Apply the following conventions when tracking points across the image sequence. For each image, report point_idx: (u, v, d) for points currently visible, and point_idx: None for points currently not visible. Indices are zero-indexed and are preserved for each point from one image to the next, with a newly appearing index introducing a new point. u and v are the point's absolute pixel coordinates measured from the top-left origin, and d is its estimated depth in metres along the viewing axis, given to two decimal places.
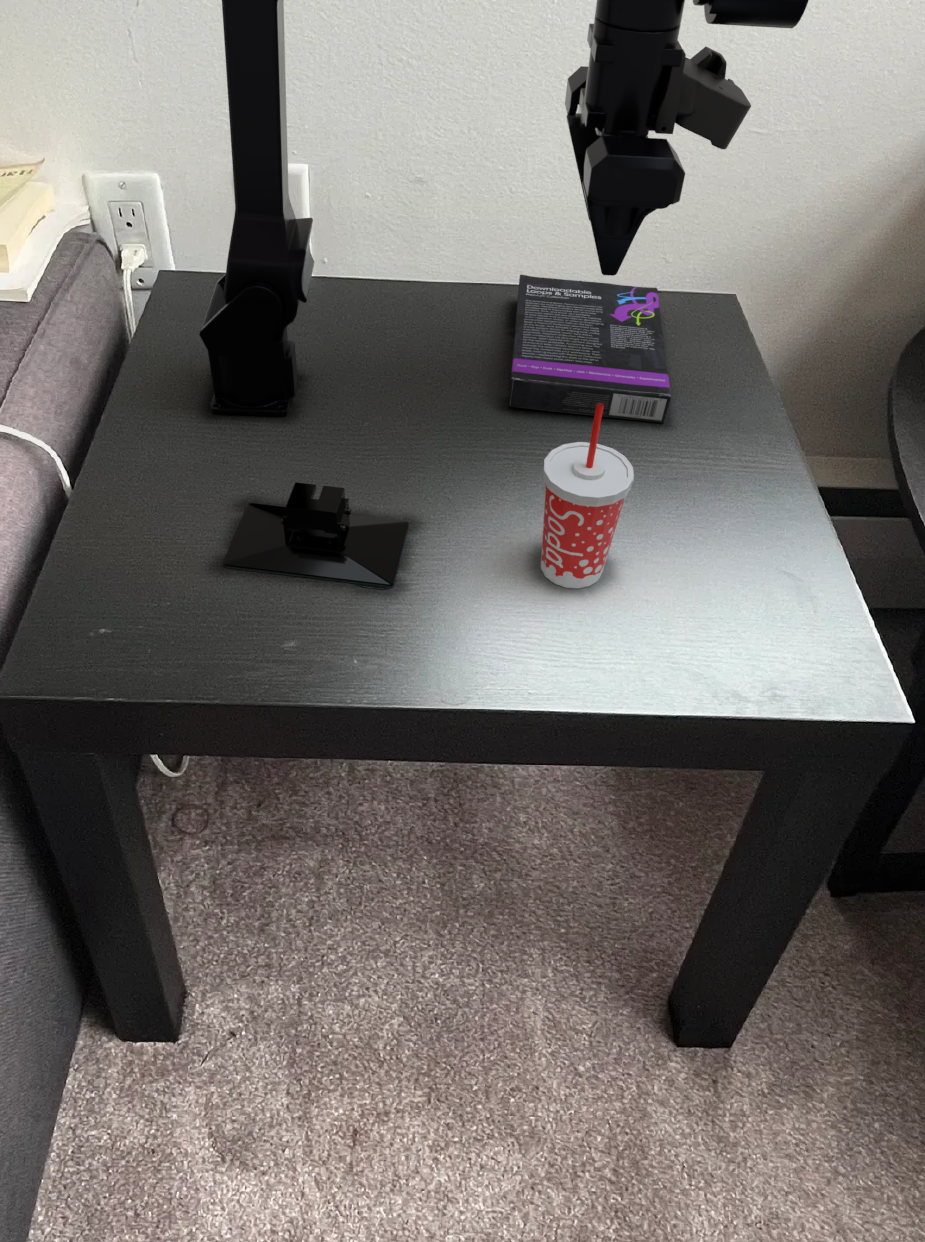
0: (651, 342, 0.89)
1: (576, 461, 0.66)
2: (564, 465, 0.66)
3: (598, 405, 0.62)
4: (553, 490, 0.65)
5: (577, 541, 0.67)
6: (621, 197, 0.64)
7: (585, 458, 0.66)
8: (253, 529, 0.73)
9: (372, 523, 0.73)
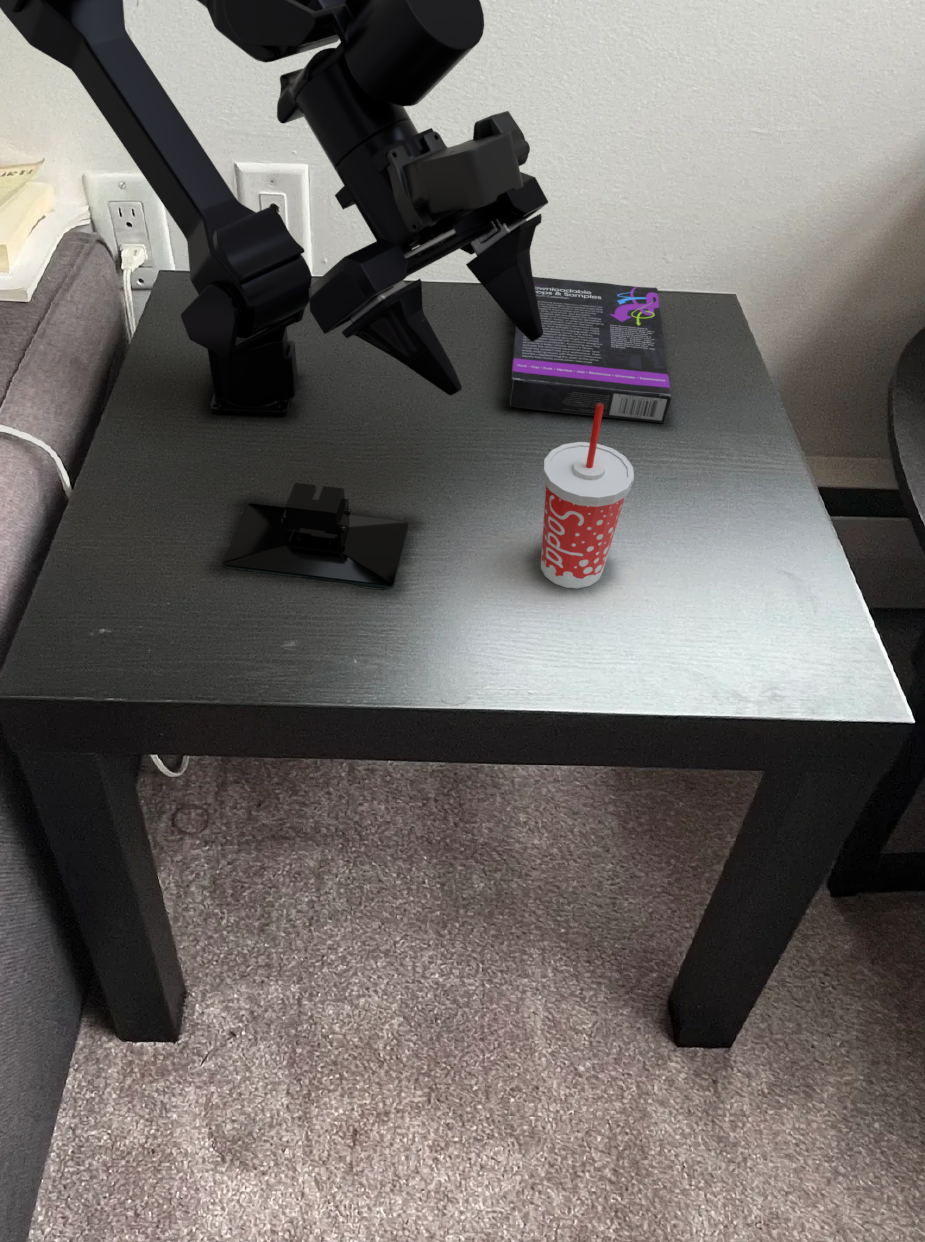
0: (651, 342, 0.89)
1: (576, 461, 0.66)
2: (564, 465, 0.66)
3: (598, 405, 0.62)
4: (553, 490, 0.65)
5: (577, 541, 0.67)
6: (334, 319, 0.59)
7: (585, 458, 0.66)
8: (253, 529, 0.73)
9: (371, 523, 0.73)
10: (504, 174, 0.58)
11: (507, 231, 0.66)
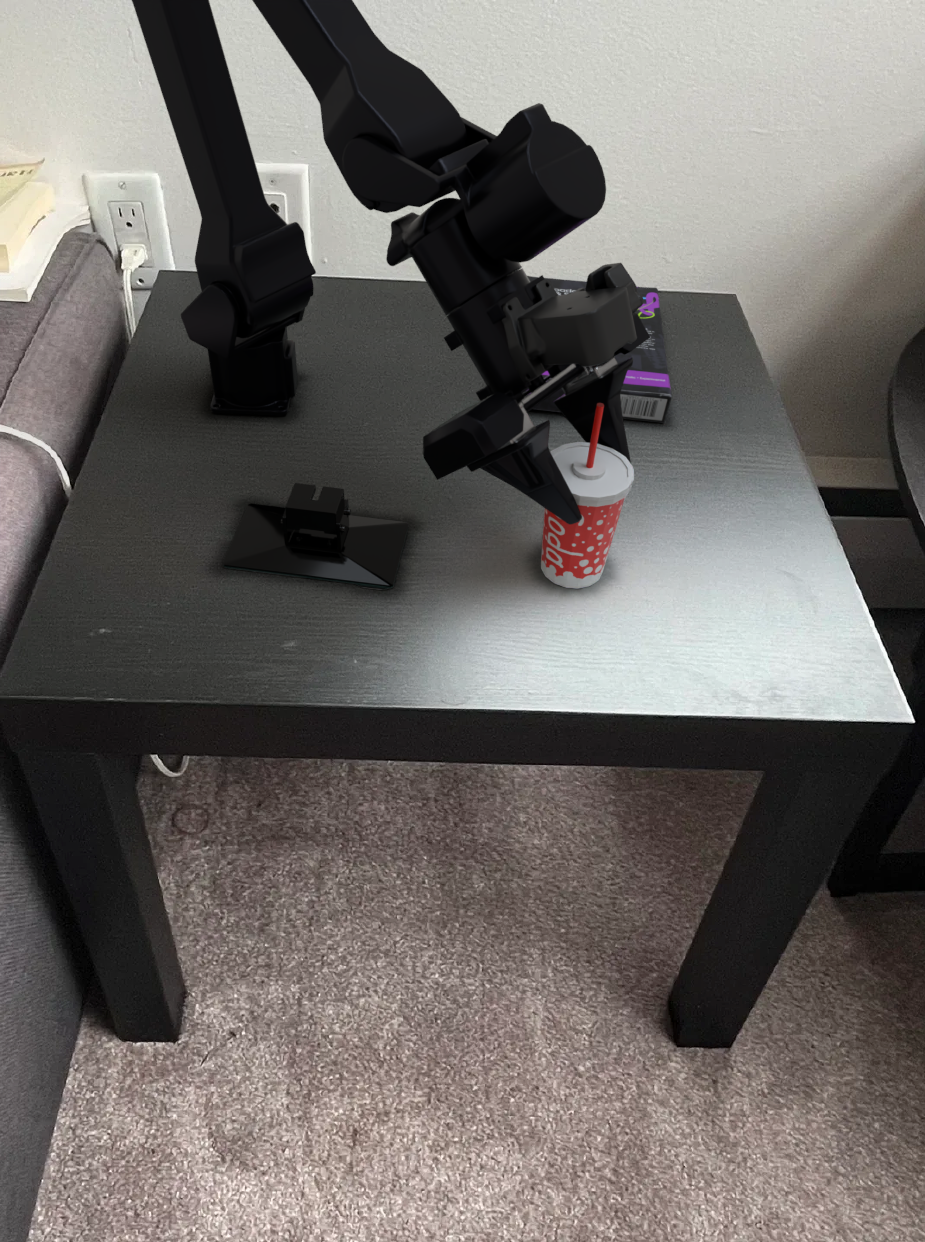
0: (652, 342, 0.89)
1: (576, 461, 0.66)
2: (564, 465, 0.66)
3: (599, 405, 0.62)
4: None
5: (577, 541, 0.67)
6: (449, 468, 0.60)
7: (585, 458, 0.66)
8: (253, 529, 0.72)
9: (371, 524, 0.73)
10: (621, 330, 0.58)
11: (599, 375, 0.66)
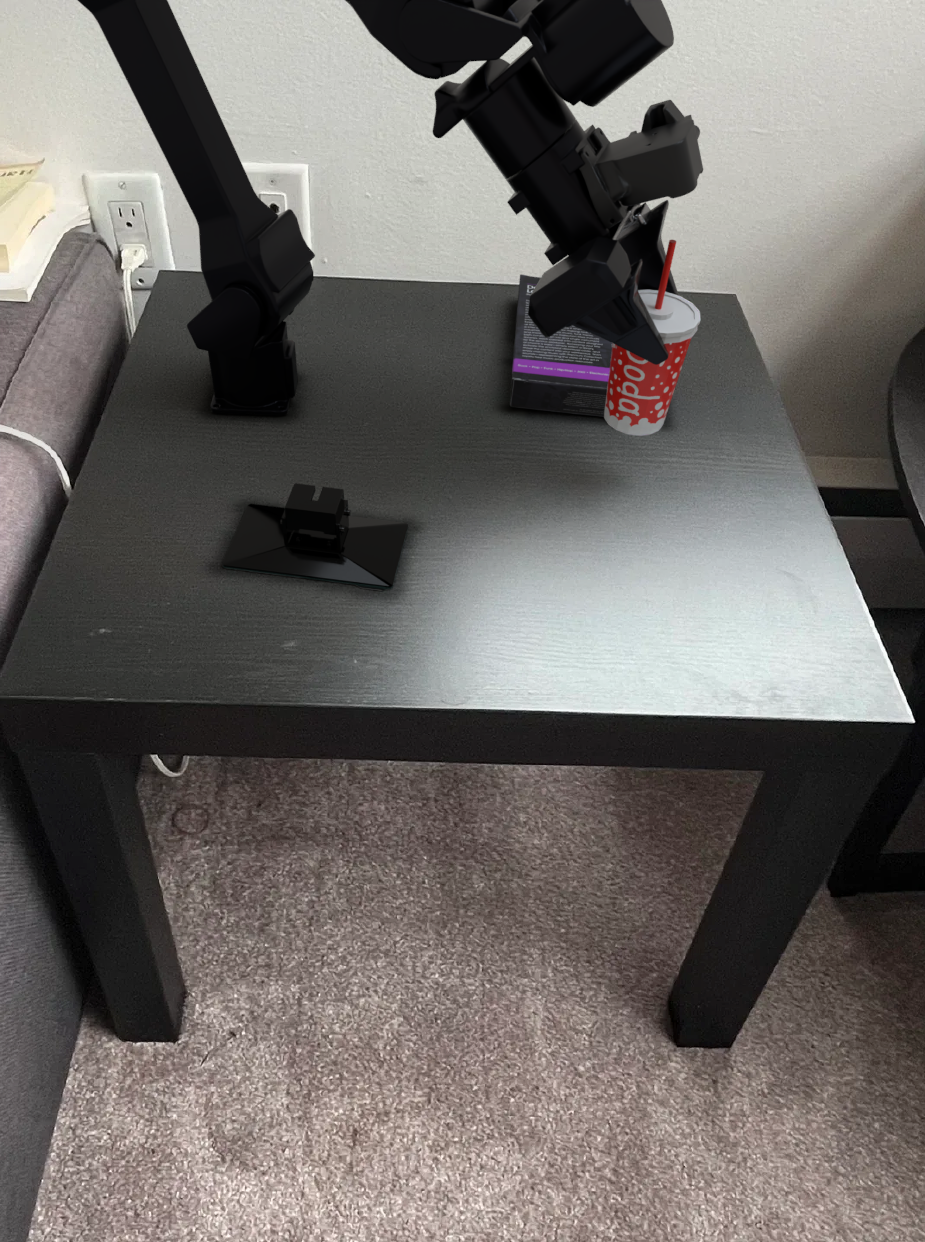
0: None
1: None
2: None
3: (672, 241, 0.65)
4: None
5: (656, 384, 0.70)
6: (565, 320, 0.61)
7: (650, 302, 0.69)
8: (252, 530, 0.72)
9: (371, 524, 0.73)
10: (697, 159, 0.61)
11: (643, 221, 0.69)
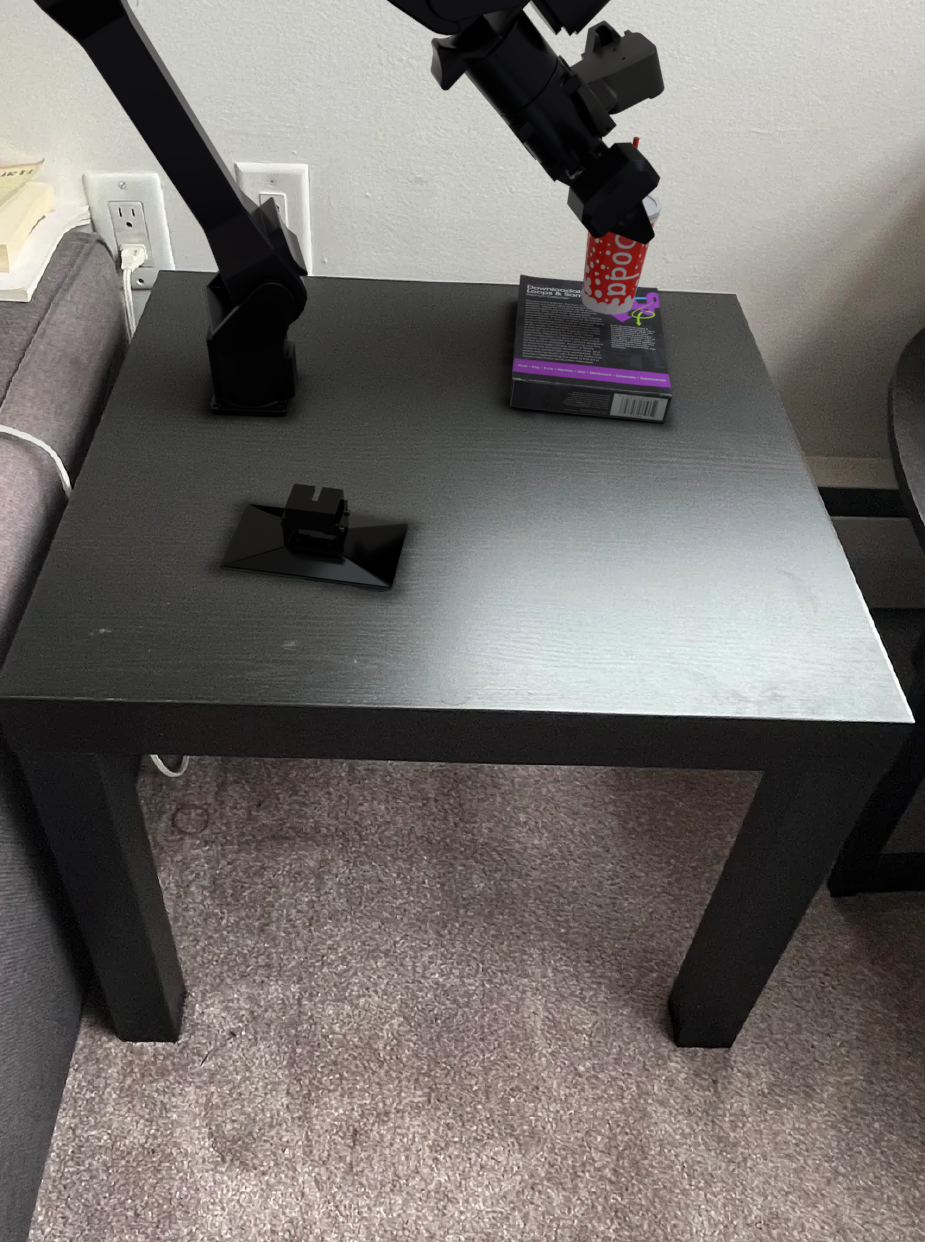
0: (652, 342, 0.89)
1: None
2: None
3: (636, 138, 0.78)
4: None
5: (638, 263, 0.83)
6: (617, 218, 0.72)
7: None
8: (252, 530, 0.72)
9: (371, 525, 0.73)
10: None
11: None
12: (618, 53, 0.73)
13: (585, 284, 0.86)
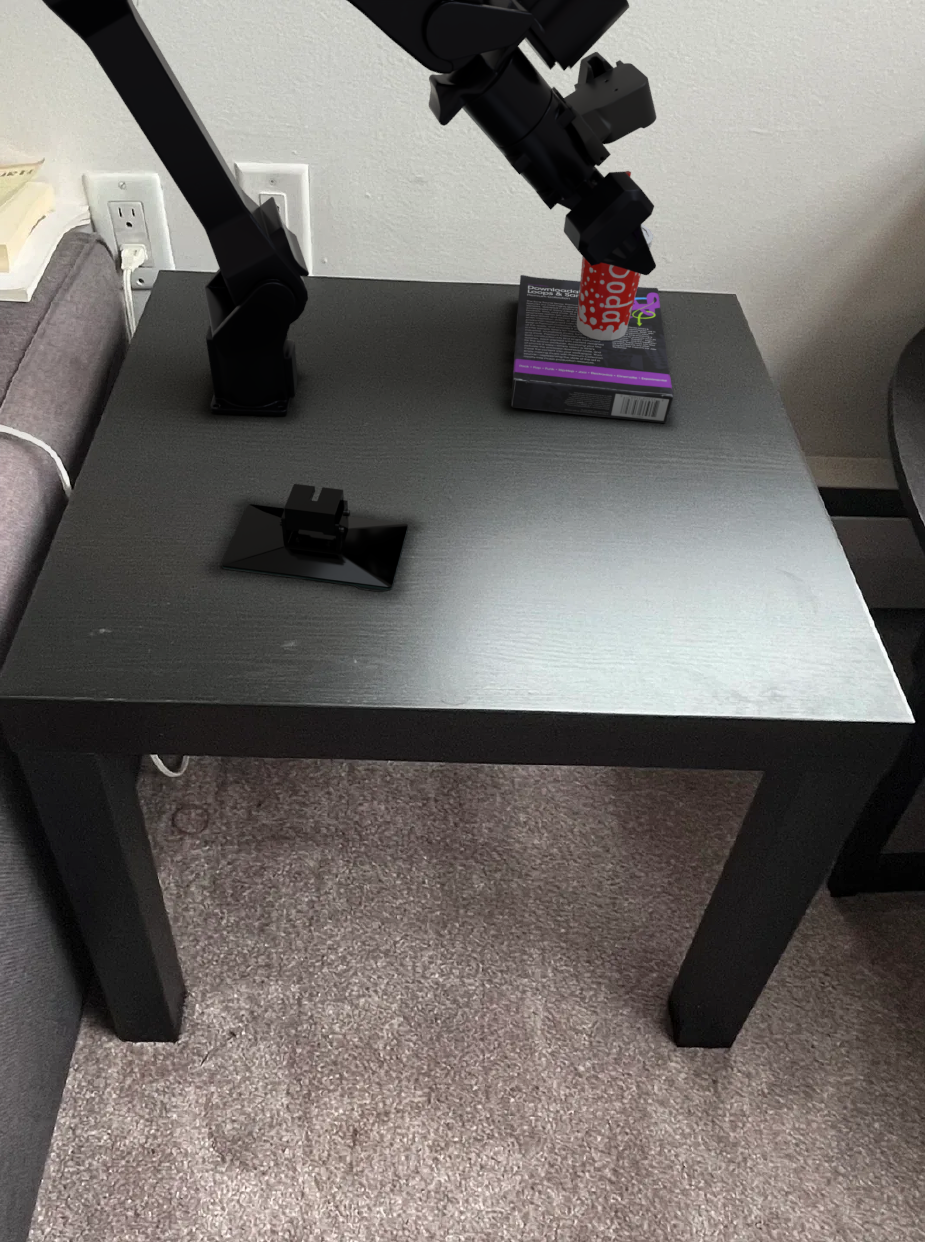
0: (653, 342, 0.89)
1: None
2: None
3: (628, 172, 0.80)
4: None
5: (631, 291, 0.86)
6: (613, 246, 0.74)
7: None
8: (252, 530, 0.72)
9: (371, 525, 0.73)
10: None
11: None
12: (611, 84, 0.75)
13: (580, 311, 0.88)
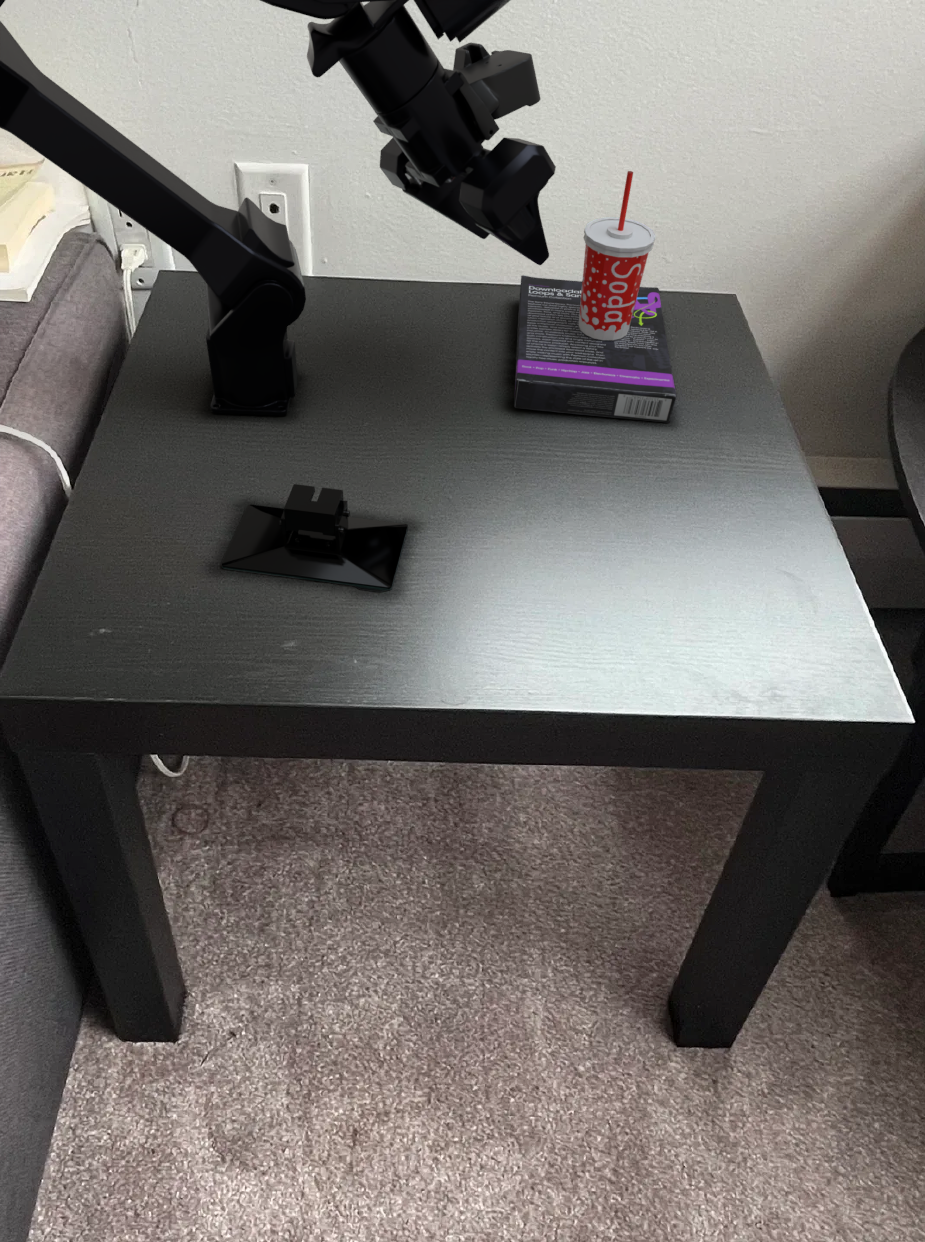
0: (655, 342, 0.89)
1: (611, 231, 0.83)
2: (606, 238, 0.83)
3: (630, 172, 0.80)
4: (622, 255, 0.82)
5: (634, 291, 0.86)
6: (517, 206, 0.69)
7: (611, 227, 0.84)
8: (252, 531, 0.72)
9: (370, 525, 0.73)
10: None
11: None
12: (492, 63, 0.73)
13: (582, 312, 0.88)
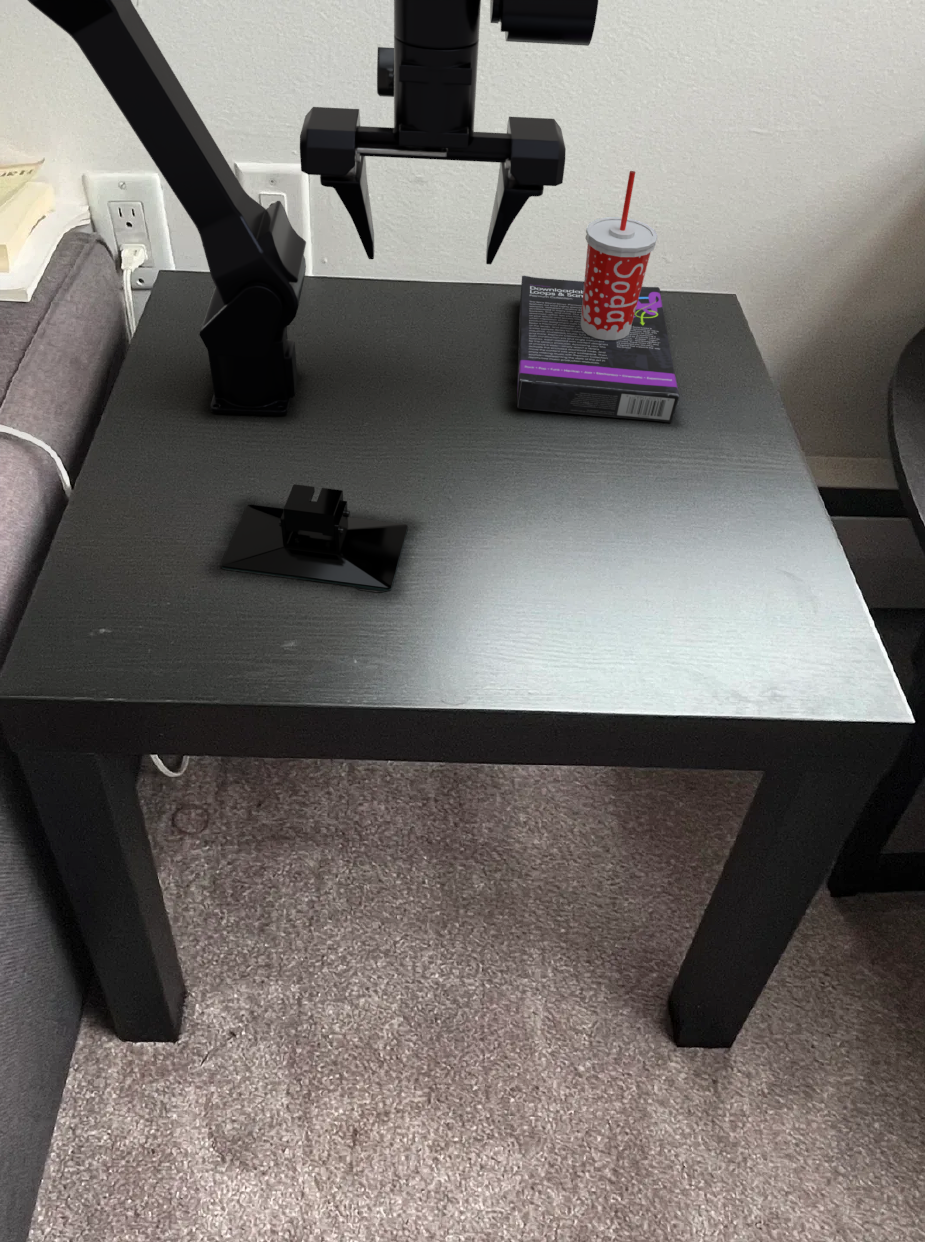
0: (657, 342, 0.89)
1: (613, 231, 0.83)
2: (608, 238, 0.83)
3: (632, 172, 0.80)
4: (624, 255, 0.82)
5: (636, 290, 0.86)
6: None
7: (613, 227, 0.84)
8: (251, 531, 0.72)
9: (370, 526, 0.73)
10: None
11: None
12: None
13: (584, 311, 0.88)
